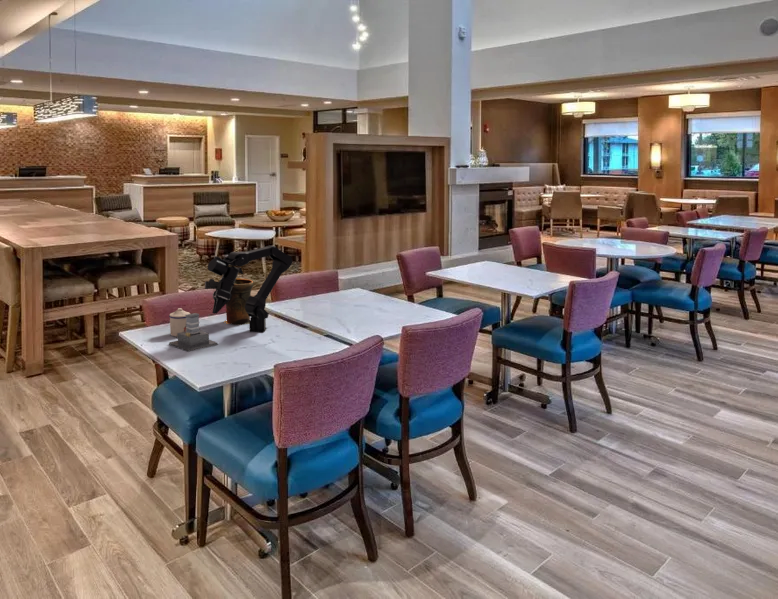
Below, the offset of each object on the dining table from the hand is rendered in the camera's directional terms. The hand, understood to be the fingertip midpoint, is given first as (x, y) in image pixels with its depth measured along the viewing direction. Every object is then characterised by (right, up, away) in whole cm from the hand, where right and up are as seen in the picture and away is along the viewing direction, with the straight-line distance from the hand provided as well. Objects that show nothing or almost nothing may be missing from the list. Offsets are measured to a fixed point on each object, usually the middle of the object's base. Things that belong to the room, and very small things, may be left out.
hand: (214, 313), depth 268 cm
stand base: (-7, -13, -6) cm, 16 cm away
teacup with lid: (-17, -9, +11) cm, 22 cm away
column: (-7, -12, -7) cm, 15 cm away
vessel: (+2, -5, +33) cm, 34 cm away
